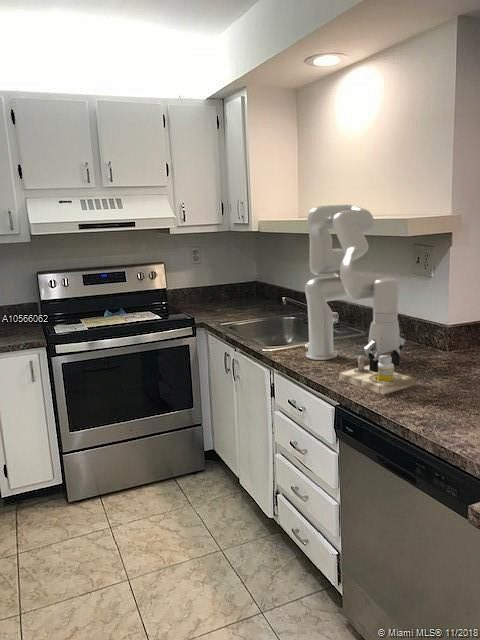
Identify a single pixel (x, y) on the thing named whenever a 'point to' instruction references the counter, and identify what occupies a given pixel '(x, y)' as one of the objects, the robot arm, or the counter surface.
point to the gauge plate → (374, 379)
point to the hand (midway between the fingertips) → (384, 368)
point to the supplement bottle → (385, 369)
